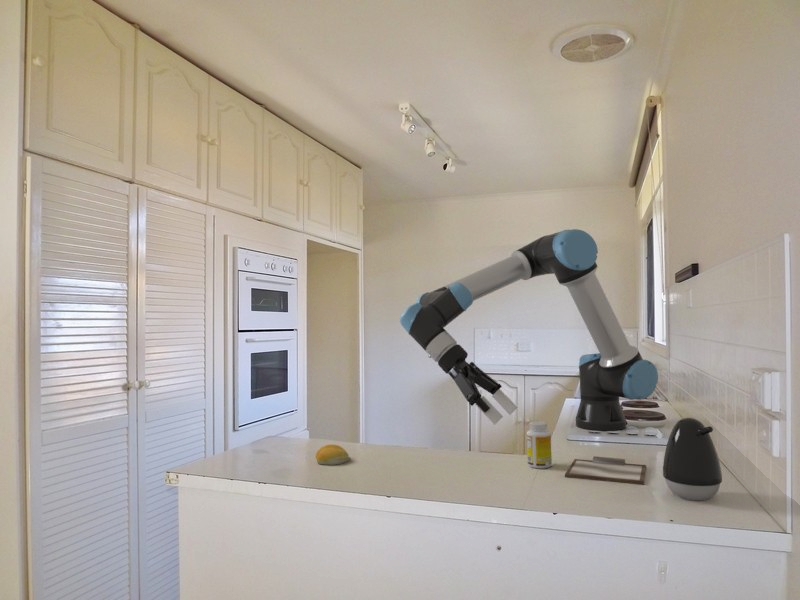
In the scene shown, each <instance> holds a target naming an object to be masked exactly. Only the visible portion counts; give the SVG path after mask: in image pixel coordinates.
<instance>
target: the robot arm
mask: <svg viewBox="0 0 800 600" xmlns="http://www.w3.org/2000/svg"><path fill="white" fill-rule="evenodd" d="M598 251H599V249H598V246H597V243H596V241H595V239H594V238H593V236H591V235H590V233H588V232H586V231H585V230H582V229H577V228H576V229H574V228H573V229H565V230H561V231H558V232H554V233H552V234H547V235H544V236H541V237H539V238H537V239H535V240H532V242H530V243H528V244H526V245H524V246H522V247H521V248H518V249H516V250H515V251H513V252H512V253H511V256H509V257H506V258H505V259H502V260H499V261H498V262H495V263H493V264H491V265H488V266H486V267H484V268H482V269H479V270H477V271H475V272H473V273H470V274H468V275H466V276H464V277H461V278H459V279H457V280H455V281H453V282H450V283H448V284H446V285H444V286H442V287H440V288H437V289H435V290H432V291H430V292H428V291H427V292H425V293H423V294H420V296H418V298H417V299H416V302H415V303H413V304H411V305H409V306H408V307H407V308H406V309H405V310H404V311H403V312H402V313H401V316H400V318H399V320H400V321H399V323H400V325H401V326H402V327H403V328H404V330H405V331H406V332H407V333H408V335H409V336H410V337H411V338H413V340H414V341H415V342H416V343H417V344H418V345H419V346H420V347H421V348H422V349H423V351H425V352H426V353H427V357H428V358H429V359H432V360H433V361H434V362H437V366H439V368H441V370H442V371H444V373H445V374H447V375H449V377H450V378H452V380H453V381H454V383H455V384H456V386H457V388H458V389H459V391H460V392H461V394H462V395H463V397H464V398H465V400H466V401H467V402H468V404H469V406H471V407H472V406H474V405H476V407H477V408H478V409H479V410H480V412H482V413H483V414H484V415H485V417H487V418H488V420H489V421H491V423H492V424H493V425H494V426H495V425H496V424H497V423H498V422H499V421H501V420H502V418H503V417H504V416H503V414H501V413H500V411H498V409H497V408H496V407H495V405H493V404H492V403H491V402H490V401H489V400H488V399H487V398H486V396H485V395H481V393H480V391H479V389H478V387H477V386H479V387H480V388H481V389H483V390H485V391H486V392H488V393H489V394H491V398H492V399H494V400H495V401H496V403H498V404H499V405H500V407H501V408H503V410H504V411H505V412H506V413H507V414H508V415H509V416H511V415H512V414H513V413H514V412H515V411H516V410H517V409H518V408H519V407H518V406H517V405H516V404H515V403H514V402H513V401H512V400H511V399H510V398H509V397H508V395H506V394H505V393H504V391H503V390H501V388H502V387H503V386H502V385H501V384H500V383H499V382H497V381H496V380H495V379H493V378H492V377H491V376H490V375H488V374H487V373H486V372H484V371H483V370H482V369H481V368H480V367H478V365H476V364H475V363H474V362H473V361H470V363H468V362H467V361H466V359H467V358H468V352H467V351H466V350H465V349H464V348H463V347H462V346H461V344H457V342H458V341H457V340H456V339H455V338H454V337H453V336H452V335H451V334H450V333H449V332H448V331H447V330H446V329H445V327H446V326H447V325H449V324H451V322H453V321H454V320H456V318H458V317H459V316H460V315H462V314H463V313H464V312H466V311H467V309H468V308H470V307H471V306H472V305H473V302H474V301H476V300H479V299H481V298H483V297H485V296H487V295H489V294H492V293H494V292H496V291H498V290H500V289H503V288H505V287H507V286H509V285H512V284H514V283H515V282H518V281H520V280H522V281H528V280H530V279H532V278H535V277H539V276H545V275H551V274H554V276H555V278H556V280H557V281H558V284H559V285H562V286H565V287H566V288H567V289H568V292H569V294H570V296H571V297H572V299H573V302H574V304H575V305H576V308H577V310H578V312H579V314H580V316H581V318H582V320H583V322H584V325H585V326H586V328H587V330H588V333H589V334H590V337H591V338H592V341H593V342H594V344H595V346H596V349H597V350H598V352H599V353H588V354H587V353H586V354H582V355H580V358H579V362H578V363H579V364H578V369H579V371H578V372H579V391H580V396H579V397H580V401H579V406H578V409H577V412H576V416H575V426H576V427H578V428H581V429H586V430H593V431H618V430H624V429H626V428H627V420H626V417H625V414H624V411H623V408H622V406H621V402H620V398H624V399H627V400H631V401H633V400H634V401H635V400H636V401H637V400H638V401H639V400H645V399H647V398H649V397H650V396H651V395H652V394H653V393H654V392H655V391H656V388H657V384H658V383H659V382H658V381H659V372H658V369H657V367H656V365H655V364H654V363H653V362H651V361H649V360H647V359H643V357H642V355H641V353H640V351H639V349H638V347H636V346H635V345H634V346H633V345H632V344H630V342H629V340H628V339H627V336H626V334H625V332H624V330H623V328H622V326H621V324H620V322H619V320H618V318H617V316H616V314H615V312H614V311H613V308H612V306H611V304H610V301H609V299H608V298H607V296H606V293H605V292H604V289H603V287H602V285H601V283H600V281H599V278H598V277H597V275H596V272H597V270H598V264H597V262H596V261H597V260H598V253H599V252H598Z"/></svg>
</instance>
